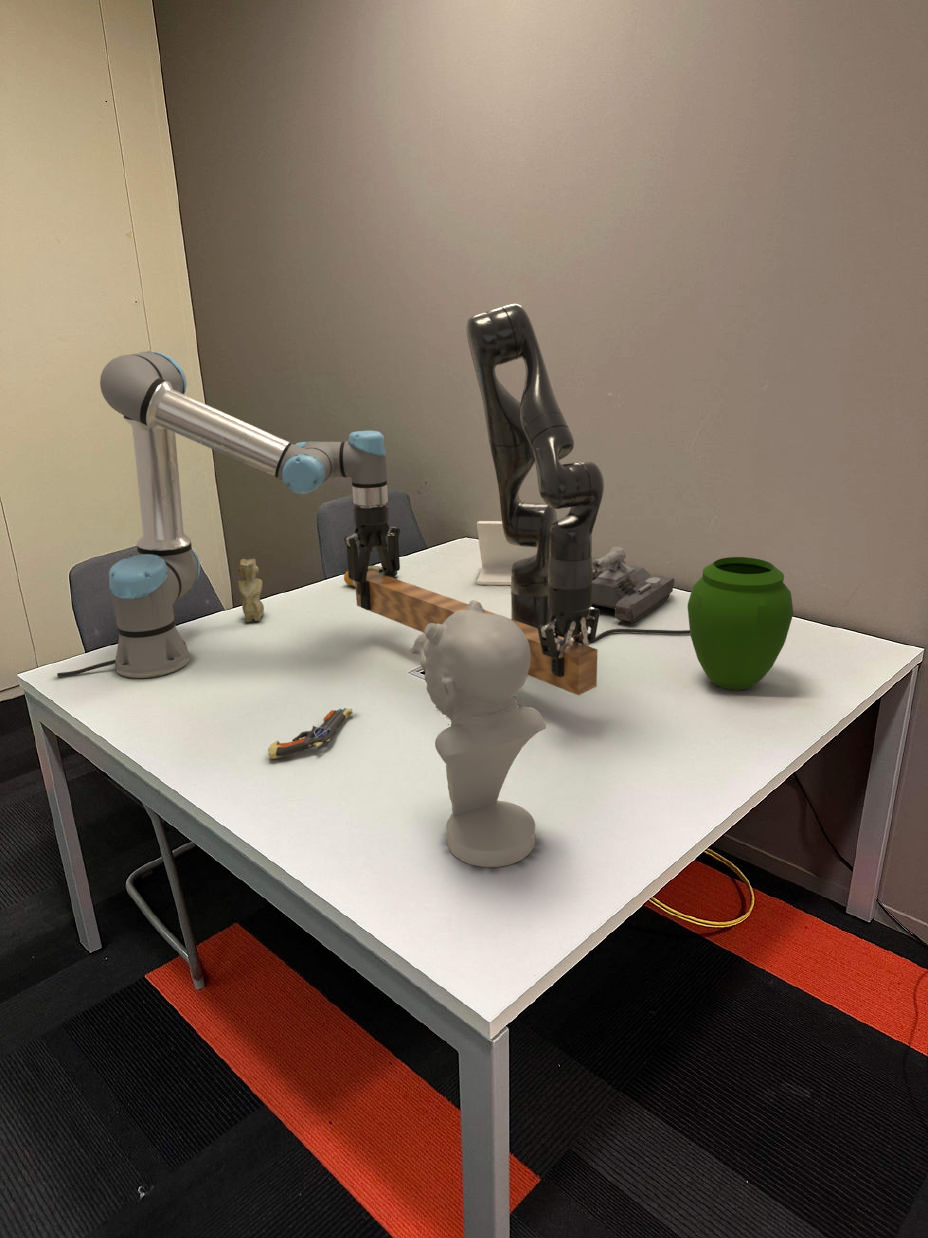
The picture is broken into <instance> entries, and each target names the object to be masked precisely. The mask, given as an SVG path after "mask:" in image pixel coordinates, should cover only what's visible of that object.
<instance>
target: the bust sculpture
mask: <svg viewBox="0 0 928 1238" xmlns="http://www.w3.org/2000/svg"><path fill="white" fill-rule="evenodd" d="M468 604H469V605H468V607H467V609H466V610H459V611H457V612H455V613H453V614H452V615H451V616H450V617H448V618H447V619H446V620H445V622H444V623H443V624H434V623H430V624H428V625H427V626H426V628H425V633H423V632H422V633H421V634H419V635H418V636H417V637H416V638H415V640H414V642H413V645H412V647H411V649H410V654H412V655H420V667H421V669H422V670H423V672H424V681H425V682H426V690H427V693H428V696H429V698H430V701H431V702H432V704H434V706H435V708H436V710H438V711H439V712H440V713H441V714H442V716H446V717H447V718H448V719H449V720H450V726H448V727H446V728H445V729H443V730H442V731H441V732H440V733H439V734H438V735H436V738H435V741H434V748H435V749H436V752H437V753H438V755H439V757H440V758H441V760H442V761H443V762H444V763H445V771H446V781H447V790H448V796H449V800H450V803H451V810H452V813H451V814H450V815H449V817H448V819H447V822H446V844H447V847H448V849H449V851H450V852H451V854H452V855H453V856H454V857H456V858H457V859H459V860H460V861H462V862H463V863H466V864H469V865H471V866H476V867H483V868H498V867H505V866H509V865H512V864H517V862H520V861H521V860H523V859H525V858H527V856H528V855H530V854H531V852H532V851H533V849H535V848H534V847H535V845H536V822H535V821H536V820H535V819H534V817H533V816H532V814H531V813H530V812H529V811H528V810H526V809H525V808H524V807H522V806H520V805H517V804H515V803H513V802H509V801H504V800H499V796H500V793H501V790H502V788H503V785H504V783H505V780H506V778H507V776H508V773H509V771H510V769H511V768H512V765H513V763H514V761H515V760H516V759H517V756H518V755H519V753H520V752H521V750H522V749H523V748H524V747H525V745H526V744H527V743H528V742H529V741H530V740H531V739H532V738H533V737H535V735H537V734H538V733H539V732H541V731H544V730H545V729H546V728H547V725H546V723H545V720H544V718H543V717H542V714H541V713H540V712H539V711H538V710H537V709H535V708H533V707H530V706H518V705H517V701H516V699H517V698H516V696H515V695H516V694H517V693H519V691H521V689H522V688H523V686H524V684H525V683H526V680H527V678H528V676H529V675H528V671H529V666H530V656H531V655H530V653H531V652H530V646H529V643H528V640H527V638H526V636H525V634H524V633H523V632H522V630H521V629H520V628H519V627H518V626H517V625H516V624H515V623H514V622H513V621H512V620H511V618H508V617H507V616H504V615H503V614H502V615H501V614H498V615H497V613H495V614H485V613H484V610H485V609H484V607H483V605H482V603H481V602H480V601H478V600H473V599H472V600H470V601H469V603H468Z"/></svg>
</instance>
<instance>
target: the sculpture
mask: <svg viewBox="0 0 928 1238" xmlns="http://www.w3.org/2000/svg"><path fill="white" fill-rule="evenodd" d="M239 565H240V566H239V567H238V568H237V572H238V574H240V575H241V576H242V579H240V580H238V582H237V585H238V591H239V596H241V597H242V603H241V608H242V612H243V614H244V619H245V622H246V623H247V622H252V621H253V620H254V622H258V621H260V620H261V617H262V616H263V615H264V613H265V606H264V604H263V601H261V593H262V590H263V580H262V579H260V578H257V577H256V576H257V575H258V574H259V572H260V568H259V566H257V563H256V558H250V559H245V558H241V559H240V561H239Z"/></svg>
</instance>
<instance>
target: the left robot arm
mask: <svg viewBox="0 0 928 1238" xmlns="http://www.w3.org/2000/svg"><path fill="white" fill-rule="evenodd" d="M99 387H100V391H101V394H102V396H103V398H104V400H105V401H106V403H107V404H108V405H109V406H110V408H112V409H113V410H114V411H116V412H117V413H119V414H121V415H123V420H124V421H125V422H127V423H128V424H129V425H130V426H131V428H132V438H133V447H134V457H135V467H136V468H135V469H136V478H137V486H138V497H139V508H140V515H141V516H140V517H141V526H142V536H141V537H140V539H138V540H137V542H136V548H137V549H136V550H137V554H135V555H133V556H129V557H127V558H122V559H120V560H118V561H117V562H115V563H114V564H113V565H112V566H111V567H110V569H109V571H108V578H109V581H108V587H109V592H110V595H111V600H112V604H113V610H114V616H115V619H116V620H115V621H116V625H117V631H118V643H117V648H116V653H115V659H112V660H108V661H107V660H106V661H104V662H101V663H97V664H93V665H90V666H86V667H84V668H81V669H76V670H70V671H62V672H57V673H56V676H57V678H62V677H69V676H74V675H75V676H76V675H81V674H84V673H87V672H90V671H93V670H96V669H100V668H104V667H107V666H108V667H109V666H111V665H114V666H115V670H116V673H117V674H118V675H120V676H122V677H125V678H129V679H149V678H157V677H161V676H165V675H169V674H172V673H175V672H177V671H179V670H181V669H182V668H184V667H185V666H187V665H188V664H189V662H190V653H189V649H188V646H187V643H186V642H185V641H184V640H183V638H182V636H181V634H180V632H179V630H178V629H177V625H176V620H175V619H176V618H175V613H174V607H173V605H174V604H175V603H176V602H177V601H178V600H179V599H181V598H182V597H183V596H184V595H187V593H189V592H190V591H191V590H192V589H193V588H194V587H195V584H196V583H197V582H198V580H199V578H200V575H201V562H200V558H199V556H198V554H197V553H196V552H195V551H194V550H193V547H192V539H191V538H190V537H189V536H188V535H186V534H185V532H184V522H183V511H182V509H183V508H182V499H181V486H180V473H179V463H178V450H177V438H176V434H178V435H180V436H181V437H184V438H187V439H188V440H191V441H193V442H196V443H197V444H200V445H201V446H204V447H206V448H208V449H211V450H213V451H216V452H218V453H220V454H222V455H225V456H226V457H229V458H231V459H233V460H235V461H238V462H240V463H243V464H245V465H247V466H249V467H252V468H254V469H255V470H258V471H260V472H262V473H265V474H267V475H269V476H272V477H274V478H276V479H278V480H280V481H282V482H284V483H283V484H285V486H286V487H287V488H288V489H289V490H290V491H292V492H293V493H295V494H299V495H307V494H311V493H312V492H314V491H317V490H318V489H320V488H321V486H322V485H323V484H324V483H325V482H326V481H327V480H328V479H329V478H330V479H331V478H350V479H351V489H352V502H353V504H354V506H353V521H354V524H355V529H354V533H353V534H351V535H350V536H348V535H346V536H344V538H343V541H344V543H345V546H346V559H347V561H346V562H347V571H348V578H349V579H350V580H353V581H355V582H357V593H358V595H360V599H361V607H360V608H361V609H364V610H365V611H369V610H371V605H370V587H369V582H368V581H366V577H367V571H368V566H369V564H370V558H371V553H372V552H373V548H374V547H375V548H376V552H377V555H378V558H379V563H380V566H381V567H382V569H383V572H384V573H385V574H383V575H386V576H389V577H392V578H394V577H393V576H395V575H396V572H395V571H397V572H399V571H400V570H401V562H400V561H401V560H400V545H399V537H400V533H401V529H400V528H399V527H397V526H396V527H395V526H392V525H391V526H390V525H389V520H390V516H389V515H390V514H389V505H388V504H387V503H388V502H389V493H388V491H389V490H388V473H387V451H386V443H385V436H384V434H383V433H382V432H381V431H378V430H359V431H358V430H357V431H356V430H355V431H352V432H350V433H349V435H348V440H346V441H313V440H309V441H301V442H297V443H295V444H294V443H291V442H290V441H288V440H286V439H284V438H282V437H279V436H277V435H276V434H275V435H274V434H273V433H270V432H268V431H266V430H264V429H261V428H259V427H257V426H255V425H253V424H251V423H248V422H246V421H244V420H241V419H239V418H237V417H235V416H232V415H230V414H228V413H226V412H224V411H222V410H220V409H217V408H215V407H213V406H211V405H209V404H206V403H204V402H202V401H200V400H197V399H195V398H193V397H191V396H188V395H186V391H187V378H186V375H185V372H184V370H183V368H182V367H181V365H180V364H179V363H178V362H177V361H176V360H175V359H174V358H172V357H171V356H169V355H168V354H166V353H162V352H159V351H150V350H149V351H140V352H137V353H130V354H122V355H119V356H116V357H113V358H112V359H111V360H109V362H107V364H105V366H104V368H103V369H102V371H101V374H100V378H99ZM386 538H387V539H386ZM358 541H359V542H358ZM396 576H397V575H396ZM396 576H395V577H396Z"/></svg>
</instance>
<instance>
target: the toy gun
mask: <svg viewBox="0 0 928 1238" xmlns="http://www.w3.org/2000/svg"><path fill="white" fill-rule="evenodd" d="M353 713H354V712H353V708H346V707H344V708H343V709H342V708H339V709H332V710H330V711H329V712H328V713H327V714H326V715H325V716H324V718H323V723H322V724H321V725H319V726H316V725H312V729H310V730H305V731H301V732H300V733H299V734H298V735H297V736H296V737H294V738H292V741H288V742H280V741H279V740H275V741H274V742H273V743H271V744H270V745H269V746H268V749H267V751H268V756H269V759H271V760H274V759H278V758H283V757H285V756H290V755H293V754H297V753H300V752H304V751H307V750H309V749H312V748H319V747H321V746H323V745H324V744H325V743H328V742H329V741H331V739H332V738H333V737H334V736H335V734H336V732H337V730H338V728H339V727H341V725H342V723H343V722H344V721H345V720H346V719H347V718H348V717H349V716H352V715H353Z"/></svg>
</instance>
